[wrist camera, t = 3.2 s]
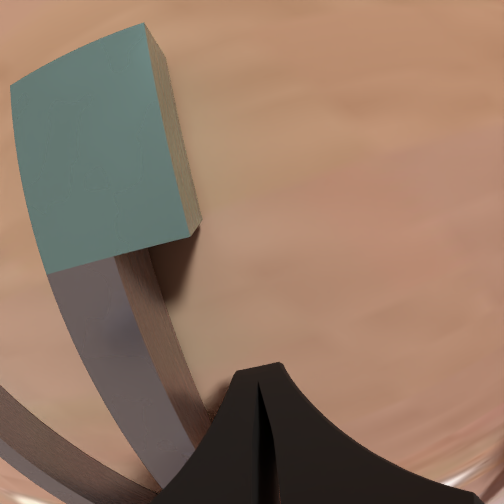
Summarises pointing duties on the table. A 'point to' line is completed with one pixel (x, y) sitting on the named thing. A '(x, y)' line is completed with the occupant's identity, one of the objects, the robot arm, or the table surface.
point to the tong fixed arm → (60, 462)
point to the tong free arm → (114, 228)
